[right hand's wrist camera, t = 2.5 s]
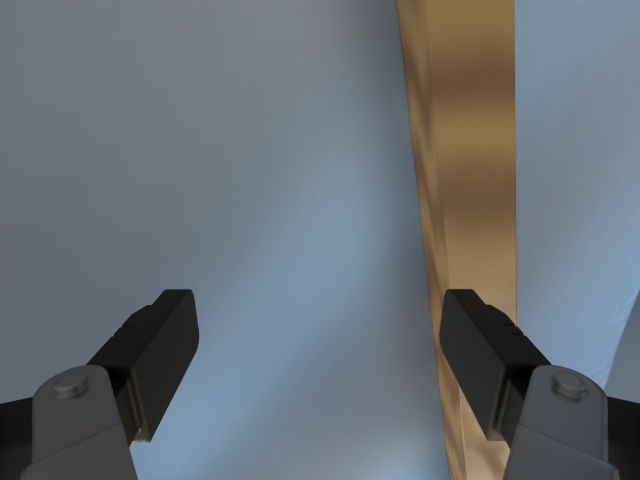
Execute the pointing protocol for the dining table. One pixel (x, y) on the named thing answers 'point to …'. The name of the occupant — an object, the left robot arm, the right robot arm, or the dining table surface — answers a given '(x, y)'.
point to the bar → (464, 181)
